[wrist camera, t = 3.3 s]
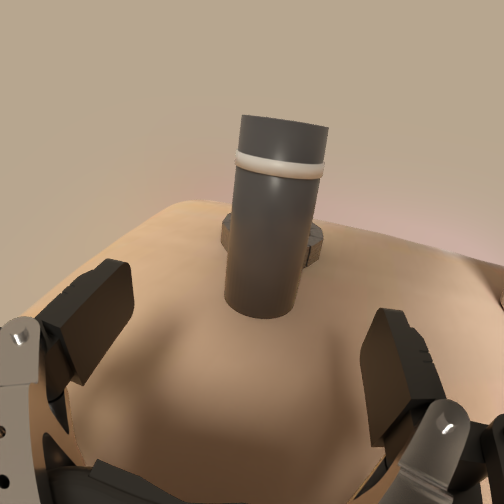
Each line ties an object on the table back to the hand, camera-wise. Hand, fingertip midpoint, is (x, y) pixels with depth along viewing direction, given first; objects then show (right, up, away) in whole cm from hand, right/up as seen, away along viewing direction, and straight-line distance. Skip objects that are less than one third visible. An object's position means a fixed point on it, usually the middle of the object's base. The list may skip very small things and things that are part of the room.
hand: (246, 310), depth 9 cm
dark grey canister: (+1, -1, +12) cm, 12 cm away
